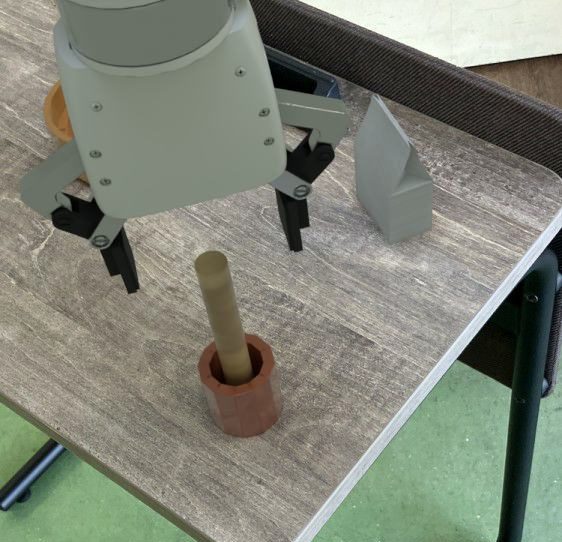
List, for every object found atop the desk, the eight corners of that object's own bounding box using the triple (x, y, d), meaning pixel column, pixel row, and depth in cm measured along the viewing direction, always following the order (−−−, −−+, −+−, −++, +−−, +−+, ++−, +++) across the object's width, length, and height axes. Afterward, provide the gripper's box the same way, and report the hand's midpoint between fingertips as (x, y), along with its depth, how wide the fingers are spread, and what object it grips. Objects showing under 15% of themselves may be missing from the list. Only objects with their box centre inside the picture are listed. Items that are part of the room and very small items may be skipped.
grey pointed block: (390, 249, 77) (389, 156, 69) (356, 195, 81) (351, 101, 73) (431, 233, 78) (435, 140, 69) (395, 180, 81) (395, 86, 73)
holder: (202, 432, 69) (187, 387, 64) (225, 374, 72) (212, 326, 67) (270, 446, 68) (260, 401, 63) (291, 387, 71) (283, 339, 66)
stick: (229, 414, 69) (189, 272, 56) (238, 392, 70) (200, 247, 57) (255, 420, 69) (221, 278, 56) (263, 397, 70) (232, 252, 57)
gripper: (315, -95, 44) (338, 176, 58) (-53, -8, 43) (60, 245, 57) (359, -3, 40) (372, 265, 54) (-48, 95, 39) (73, 341, 53)
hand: (211, 255), depth 56 cm, fingers open, 9 cm apart
